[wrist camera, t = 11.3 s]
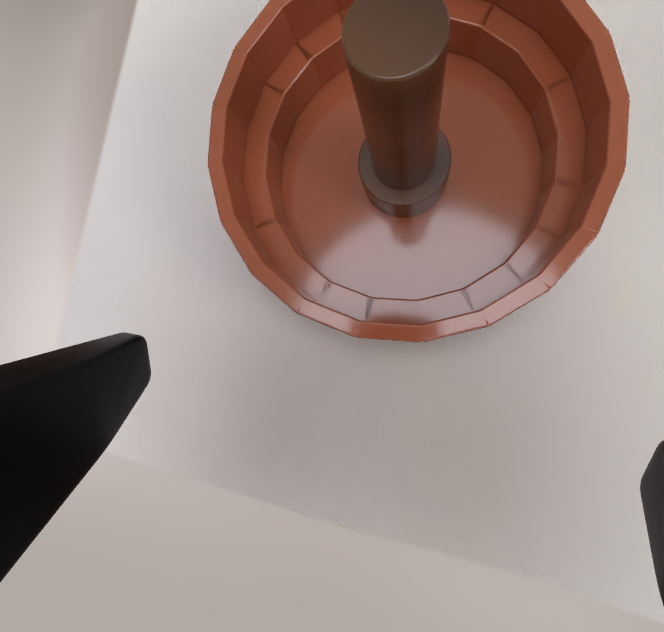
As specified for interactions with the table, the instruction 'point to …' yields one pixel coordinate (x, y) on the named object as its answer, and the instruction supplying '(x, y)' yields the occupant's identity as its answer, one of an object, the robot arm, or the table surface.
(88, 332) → the table surface
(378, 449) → the table surface
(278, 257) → the bowl
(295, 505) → the table surface
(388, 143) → the grey flanged cylindrical pin
